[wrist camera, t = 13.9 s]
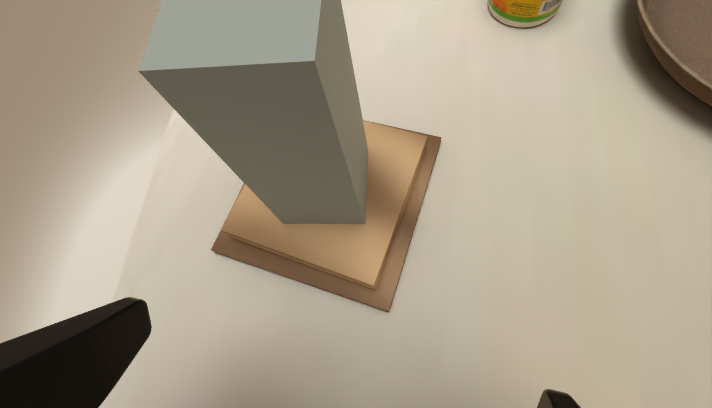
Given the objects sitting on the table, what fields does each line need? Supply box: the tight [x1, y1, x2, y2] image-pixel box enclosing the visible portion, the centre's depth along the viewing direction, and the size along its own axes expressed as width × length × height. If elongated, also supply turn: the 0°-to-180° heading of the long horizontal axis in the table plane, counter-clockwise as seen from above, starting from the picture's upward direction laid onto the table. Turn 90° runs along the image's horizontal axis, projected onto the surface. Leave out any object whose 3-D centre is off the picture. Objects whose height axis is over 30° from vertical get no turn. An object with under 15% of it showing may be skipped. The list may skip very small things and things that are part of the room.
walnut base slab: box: [211, 120, 441, 312], centre depth 25 cm, size 12×12×2 cm
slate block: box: [139, 0, 368, 224], centre depth 17 cm, size 5×5×13 cm
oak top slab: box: [221, 121, 427, 290], centre depth 23 cm, size 10×10×2 cm
